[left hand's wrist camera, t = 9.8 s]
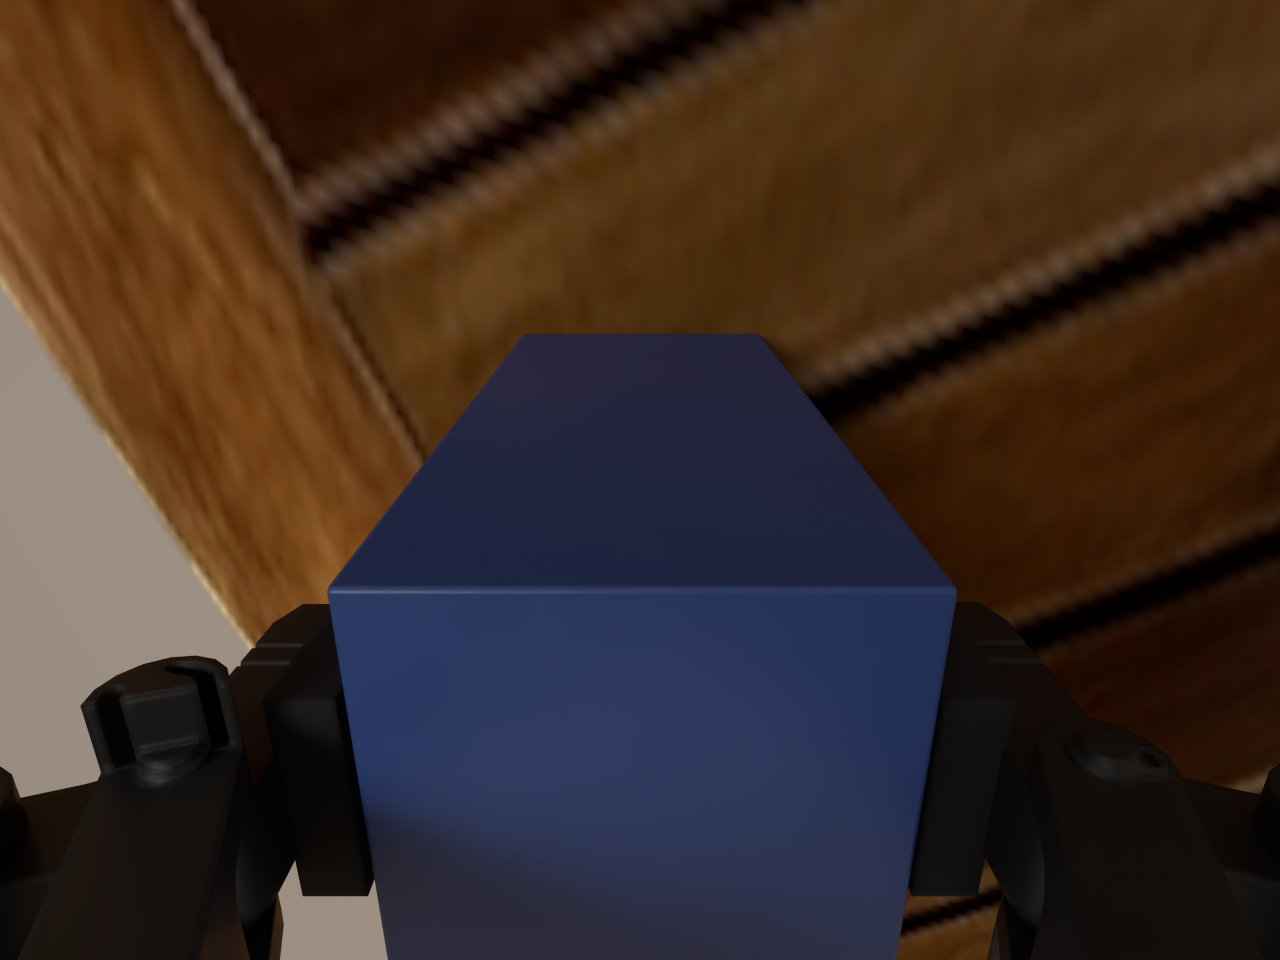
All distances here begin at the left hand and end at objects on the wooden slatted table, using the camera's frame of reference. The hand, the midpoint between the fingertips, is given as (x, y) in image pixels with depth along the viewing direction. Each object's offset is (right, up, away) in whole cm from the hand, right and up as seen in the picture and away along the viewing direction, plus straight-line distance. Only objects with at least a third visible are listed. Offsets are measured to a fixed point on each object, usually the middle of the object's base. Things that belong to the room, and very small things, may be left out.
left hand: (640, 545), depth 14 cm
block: (0, +2, +4) cm, 5 cm away
